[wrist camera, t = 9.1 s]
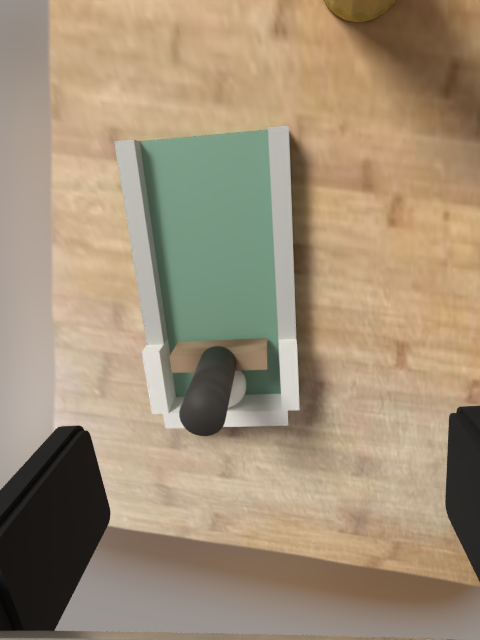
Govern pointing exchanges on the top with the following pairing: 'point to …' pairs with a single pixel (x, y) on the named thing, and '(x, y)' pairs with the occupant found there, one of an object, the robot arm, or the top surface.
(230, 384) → the striker
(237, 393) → the ball
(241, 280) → the pitch
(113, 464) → the top surface
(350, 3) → the vase
